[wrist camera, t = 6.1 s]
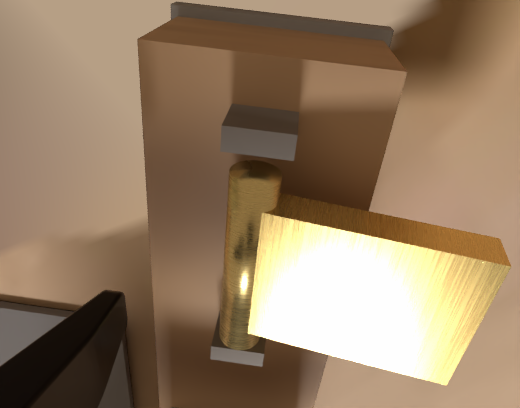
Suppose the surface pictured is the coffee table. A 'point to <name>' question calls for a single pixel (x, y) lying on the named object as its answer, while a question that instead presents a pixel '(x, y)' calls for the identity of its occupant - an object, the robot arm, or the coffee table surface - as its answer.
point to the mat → (42, 320)
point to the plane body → (241, 149)
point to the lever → (351, 279)
